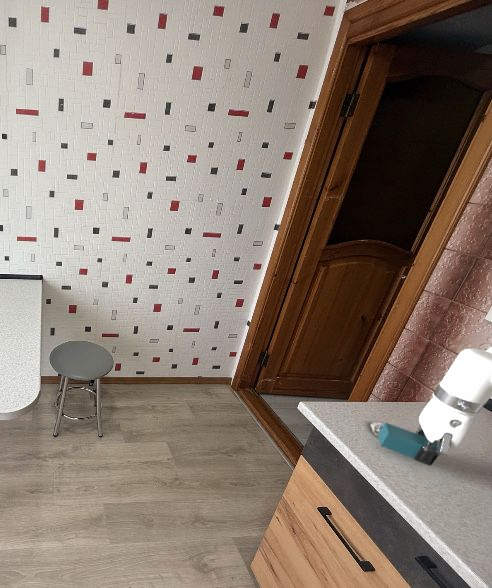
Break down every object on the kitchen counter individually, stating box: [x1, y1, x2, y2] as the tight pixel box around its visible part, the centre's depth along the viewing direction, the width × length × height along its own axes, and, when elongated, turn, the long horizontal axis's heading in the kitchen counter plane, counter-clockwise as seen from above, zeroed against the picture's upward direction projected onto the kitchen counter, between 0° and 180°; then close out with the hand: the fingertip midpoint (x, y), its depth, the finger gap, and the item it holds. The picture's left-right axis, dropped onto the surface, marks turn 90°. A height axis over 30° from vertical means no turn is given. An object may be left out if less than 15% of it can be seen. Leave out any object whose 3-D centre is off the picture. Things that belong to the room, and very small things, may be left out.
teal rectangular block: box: [377, 422, 439, 464], centre depth 85 cm, size 10×4×4 cm, turn 58°
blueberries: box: [370, 421, 385, 437], centre depth 93 cm, size 7×8×2 cm
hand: (419, 454), depth 84 cm, fingers closed on teal rectangular block, 4 cm apart
